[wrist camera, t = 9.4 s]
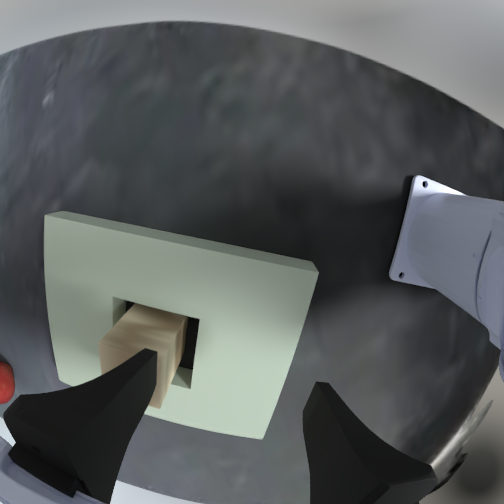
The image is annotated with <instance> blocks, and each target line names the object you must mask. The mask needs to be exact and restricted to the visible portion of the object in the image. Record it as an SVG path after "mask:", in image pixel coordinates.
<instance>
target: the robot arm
mask: <svg viewBox="0 0 504 504" xmlns="http://www.w3.org/2000/svg"><path fill="white" fill-rule="evenodd" d="M423 181H424V182H425V187H423V185H422V183H423ZM401 272H402V276H401V277H399V274H400V273H401ZM389 277H390V278H391V279H392V280H394V281H399V282H404V283H409V284H414V285H419V286H423V287H428V288H433V289H436V290H438V291H439V292H441V293H442V294H443V295H445V296H446V297H447V298H449V299H450V300H452V301H453V302H454V303H456V304H457V305H458V306H460V307H461V308H462V309H464V310H465V311H466V312H468V313H469V314H470V315H472V316H473V317H474V318H475V319H477V320H478V321H479V322H481V323H482V324H483V325H484V326H486V327H487V329H488V330H489V333H490V341H491V342H492V343H493V344H494V345H495V346H496V347H498V348H499V349H500V350H501V353H500V358H499V370H500V375H501V378H502V380H503V382H504V202H503V201H497V200H491V199H485V198H479V197H472V196H467V195H465V194H462V193H460V192H458V191H456V190H454V189H451V188H449V187H447V186H445V185H442V184H440V183H437V182H435V181H433V180H430V179H428V178H425V177H423V176H419V175H417V176H414V178H413V180H412V184H411V189H410V194H409V199H408V203H407V208H406V212H405V216H404V220H403V224H402V228H401V232H400V236H399V240H398V243H397V247H396V250H395V254H394V257H393V261H392V264H391V267H390V271H389ZM157 355H158V351H154V350H151V349H147V348H144V349H142V350H141V351H139V352H138V353H137V354H135V355H134V356H132V357H131V358H129V359H128V360H126V361H125V362H123V363H122V364H120V365H118V366H117V367H115V368H114V369H112V370H110V371H108V372H106V373H105V374H103V375H101V376H99V377H97V378H95V379H93V380H90V381H88V382H85V383H83V384H80V385H77V386H74V387H70V388H67V389H63V390H59V391H54V392H48V393H41V394H27V395H20V396H19V397H18V398H17V399H16V400H15V401H14V402H13V403H12V404H11V405H10V406H9V407H8V408H7V410H6V411H5V412H4V414H3V416H4V421H5V423H6V425H7V427H8V429H9V431H10V433H11V435H12V437H13V438H14V440H15V442H16V443H15V445H14V446H13V447H12V446H11V445H10V444H9V443H8V442H7V441H6V440H5V439H3V438H2V437H1V436H0V501H1V502H2V503H3V504H110V501H111V496H112V493H113V489H114V486H115V482H116V479H117V476H118V472H119V469H120V466H121V463H122V460H123V457H124V455H125V452H126V449H127V446H128V444H129V441H130V439H131V437H132V435H133V433H134V431H135V429H136V427H137V426H138V424H139V422H140V420H141V418H142V416H143V414H144V412H145V411H146V409H147V407H148V405H149V403H150V401H151V398H152V396H153V393H154V390H155V387H156V384H157ZM303 433H304V439H305V445H306V451H307V457H308V463H309V470H310V504H419V501H420V500H421V499H423V497H425V496H426V495H427V494H428V493H429V492H430V491H431V490H432V489H433V488H434V487H435V486H436V484H437V482H438V479H437V477H436V475H435V473H434V471H433V468H432V466H431V465H428V464H426V463H423V462H421V461H418V460H416V459H413V458H411V457H409V456H407V455H405V454H403V453H402V452H400V451H398V450H396V449H395V448H393V447H392V446H390V445H389V444H387V443H386V442H384V441H383V440H382V439H380V438H379V437H378V436H377V435H376V434H374V433H373V432H372V431H371V430H370V429H369V428H367V427H366V426H365V425H364V424H363V423H362V422H361V421H360V420H359V419H358V418H357V416H356V415H355V414H354V413H353V412H352V411H351V410H350V409H349V407H348V406H347V405H346V404H345V403H344V401H343V400H342V399H341V398H340V397H339V395H338V394H337V393H336V391H335V390H334V389H333V388H332V387H331V385H330V384H329V383H325V382H316V383H315V385H314V387H313V390H312V392H311V394H310V397H309V399H308V401H307V403H306V406H305V408H304V410H303Z"/></svg>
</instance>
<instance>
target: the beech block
mask: <svg viewBox="0 0 504 504" xmlns="http://www.w3.org/2000/svg"><path fill="white" fill-rule="evenodd" d="M187 322H188V316H185V315H181V314H177V313H173V312H169V311H165V310H161V309H157V308H153V307H149V306H145V305H142V304H138V303H135V304H134V305H133V306H132V307H131V308H130V309H129V310H128V311H127V312H126V313H125V314H124V315H123V317H122V318H121V319H120V320H119V321H118V322H117V323H116V324H115V325H114V326H113V327H112V328H111V329H110V330H109V331H108V332H107V334H106V335H105V336H104V337H103V338H102V339H101V340H100V341H99V342H98V345H99V356H100V365H101V374H102V375H103V374H105V373H106V372H108V371H110V370H112V369H114V368H115V367H117V366H118V365H120V364H122V363H123V362H125V361H126V360H128V359H129V358H131V357H132V356H134V355H135V354H137V353H138V352H139V351H141V350H142V349H144V348H147V349H151V350H154V351H158V355H157V384H156V387H155V390H154V393H153V396H152V398H151V401H150V403H149V405H148V406H151V407H154V408H158V409H160V408H161V405H162V403H163V401H164V398H165V396H166V393H167V391H168V389H169V386H170V384H171V382H172V379H173V377H174V375H175V372H176V370H177V368H178V365H179V363H180V361H181V358H182V356H183V354H184V350H185V340H186V331H187Z"/></svg>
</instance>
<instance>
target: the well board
mask: <svg viewBox="0 0 504 504" xmlns="http://www.w3.org/2000/svg"><path fill="white" fill-rule="evenodd" d="M44 269H45V287H46V299H47V309H48V318H49V326H50V333H51V339H52V345H53V351H54V356H55V361H56V366H57V371H58V375H59V379H60V380H61V381H63V382H65V383H67V384H69V385H71V386H73V387H74V386H77V385H80V384H83V383H85V382H88V381H90V380H93V379H95V378H97V377H99V376H101V375H102V374H101V365H100V356H99V345H98V342H99V341H100V340H101V339H102V338H103V337H104V336H105V335H106V334H107V332H108V331H109V330H110V329H111V328H112V327H113V326H114V325H115V324H116V323H117V322H118V321H119V320H120V319H121V318H122V317H123V315H124V314H125V313H126V300H127V301H131V302H134V303H138V304H142V305H145V306H149V307H153V308H157V309H161V310H165V311H169V312H173V313H177V314H181V315H185V316H189V317H193V318H198V319H200V322H199V329H198V336H197V343H196V350H195V358H194V366H193V370H191V369H187V368H183V367H179V366H178V368H177V370H176V372H175V375H174V377H173V379H172V382H171V384H170V386H169V389H168V391H167V393H166V396H165V398H164V401H163V403H162V405H161V408H160V409H158V408H154V407H151V406H148V407H147V409H146V411H145V412H144V414H147V415H150V416H153V417H157V418H160V419H164V420H167V421H171V422H175V423H179V424H183V425H187V426H191V427H195V428H200V429H204V430H209V431H214V432H219V433H224V434H230V435H236V436H242V437H249V438H257V439H263V437H264V434H265V432H266V429H267V427H268V424H269V422H270V419H271V417H272V414H273V411H274V409H275V406H276V403H277V401H278V398H279V395H280V393H281V390H282V387H283V384H284V382H285V379H286V376H287V373H288V370H289V367H290V364H291V362H292V359H293V356H294V353H295V350H296V347H297V344H298V340H299V337H300V334H301V331H302V328H303V325H304V322H305V318H306V315H307V312H308V309H309V305H310V302H311V298H312V295H313V292H314V288H315V285H316V281H317V278H318V274H319V272H318V270H317V269H316V267H315V265H314V264H313V262H312V261H307V260H302V259H297V258H293V257H288V256H283V255H278V254H273V253H268V252H264V251H259V250H254V249H249V248H244V247H239V246H234V245H230V244H225V243H220V242H215V241H210V240H205V239H200V238H195V237H191V236H186V235H181V234H176V233H171V232H166V231H161V230H156V229H151V228H146V227H141V226H136V225H132V224H127V223H122V222H117V221H112V220H107V219H102V218H97V217H92V216H87V215H82V214H77V213H72V212H67V211H60V212H56V213H51V214H47V215H45V221H44Z"/></svg>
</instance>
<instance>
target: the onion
mask: <svg viewBox="0 0 504 504" xmlns="http://www.w3.org/2000/svg"><path fill="white" fill-rule="evenodd" d="M14 390H15V381H14V376H13V369H12V367H11V366H10V365H9V364H7V363H4V362H1V361H0V404H4V403H7V402H8V401H9V400H11V398H12V396H13V394H14Z"/></svg>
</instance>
